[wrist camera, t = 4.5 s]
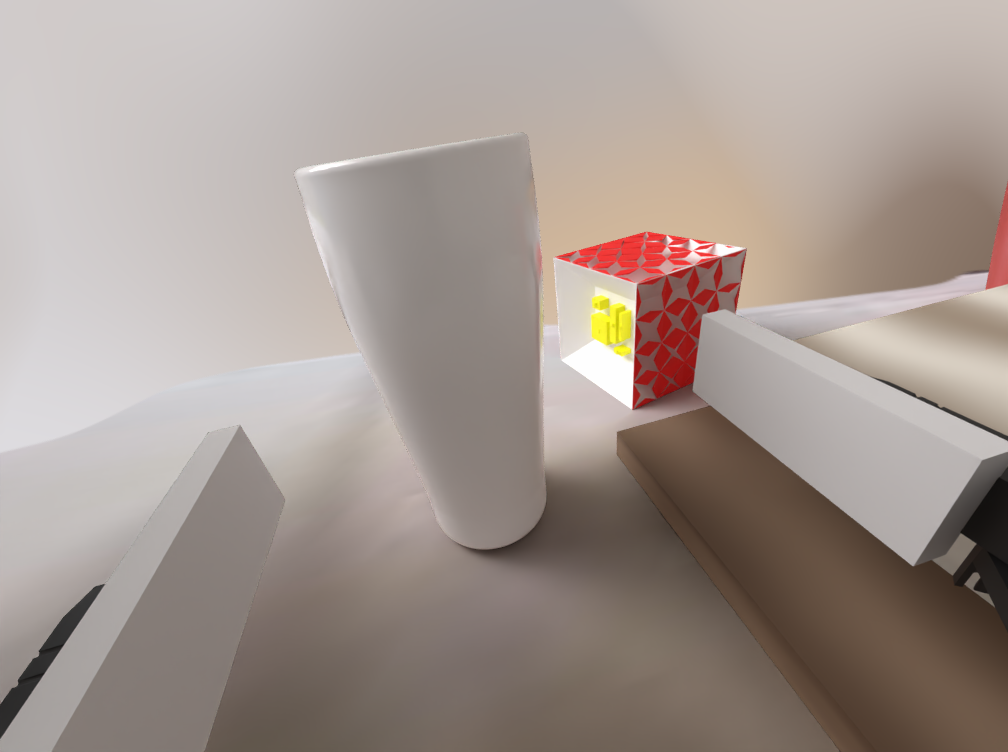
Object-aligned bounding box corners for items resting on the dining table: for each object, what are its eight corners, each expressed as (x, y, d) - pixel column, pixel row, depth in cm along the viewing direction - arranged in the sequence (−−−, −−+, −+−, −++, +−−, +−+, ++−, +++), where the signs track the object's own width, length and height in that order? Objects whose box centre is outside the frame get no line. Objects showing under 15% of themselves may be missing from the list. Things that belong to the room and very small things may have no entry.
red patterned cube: (560, 360, 30) (553, 257, 26) (641, 330, 33) (646, 231, 29) (633, 411, 24) (638, 284, 20) (727, 369, 26) (748, 248, 22)
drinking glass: (483, 442, 23) (420, 149, 15) (589, 486, 19) (575, 124, 12) (393, 526, 19) (244, 177, 11) (506, 604, 15) (397, 150, 7)
